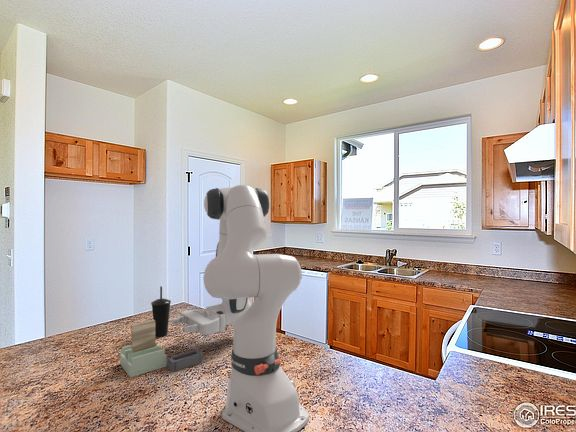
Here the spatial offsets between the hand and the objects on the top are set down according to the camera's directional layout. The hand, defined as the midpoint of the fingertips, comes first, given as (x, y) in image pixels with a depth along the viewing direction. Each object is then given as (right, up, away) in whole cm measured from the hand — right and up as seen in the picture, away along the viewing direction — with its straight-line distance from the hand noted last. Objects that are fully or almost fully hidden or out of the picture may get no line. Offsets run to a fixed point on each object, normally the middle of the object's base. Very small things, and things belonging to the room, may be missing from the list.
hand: (178, 325), depth 111 cm
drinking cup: (-14, -10, +18) cm, 25 cm away
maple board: (-9, -9, -8) cm, 15 cm away
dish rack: (-9, -10, -8) cm, 16 cm away
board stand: (+5, -10, -8) cm, 14 cm away
